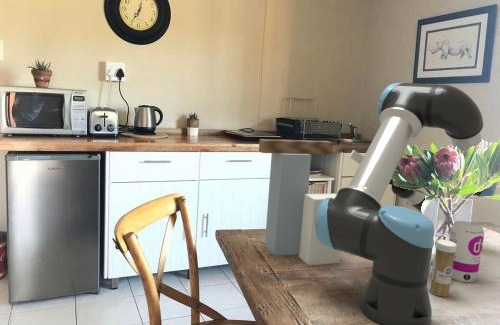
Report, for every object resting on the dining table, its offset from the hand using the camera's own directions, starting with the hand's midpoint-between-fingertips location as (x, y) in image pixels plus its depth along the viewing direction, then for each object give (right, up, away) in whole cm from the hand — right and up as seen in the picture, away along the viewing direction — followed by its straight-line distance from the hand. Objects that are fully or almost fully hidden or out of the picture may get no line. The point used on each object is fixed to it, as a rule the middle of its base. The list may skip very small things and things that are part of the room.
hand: (363, 156), depth 132 cm
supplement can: (+23, -34, -15) cm, 43 cm away
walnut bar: (-22, +1, -8) cm, 23 cm away
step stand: (-20, -29, -6) cm, 36 cm away
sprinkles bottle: (+12, -35, -25) cm, 45 cm away
